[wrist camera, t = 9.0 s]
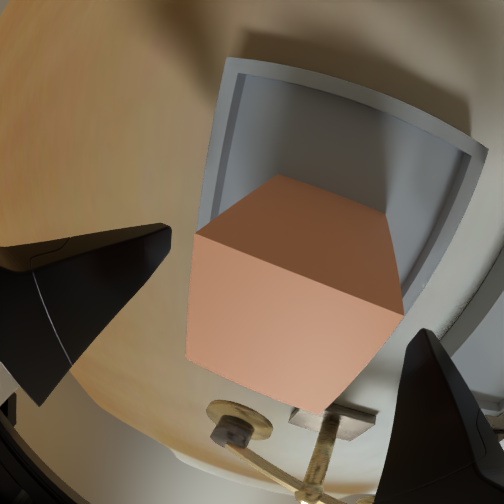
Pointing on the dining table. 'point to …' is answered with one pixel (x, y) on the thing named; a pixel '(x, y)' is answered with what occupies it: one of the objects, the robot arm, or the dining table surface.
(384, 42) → the dining table surface
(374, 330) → the block
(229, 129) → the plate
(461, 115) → the dining table surface
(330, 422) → the balance
